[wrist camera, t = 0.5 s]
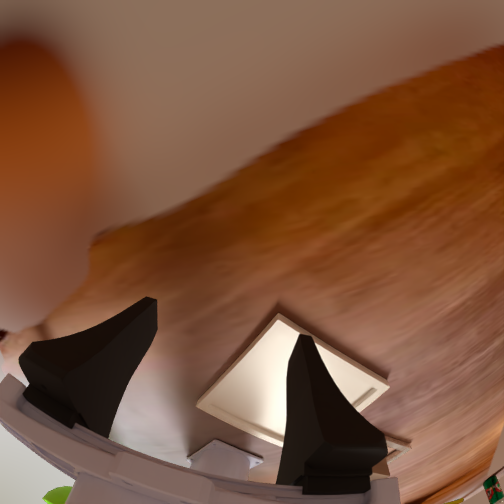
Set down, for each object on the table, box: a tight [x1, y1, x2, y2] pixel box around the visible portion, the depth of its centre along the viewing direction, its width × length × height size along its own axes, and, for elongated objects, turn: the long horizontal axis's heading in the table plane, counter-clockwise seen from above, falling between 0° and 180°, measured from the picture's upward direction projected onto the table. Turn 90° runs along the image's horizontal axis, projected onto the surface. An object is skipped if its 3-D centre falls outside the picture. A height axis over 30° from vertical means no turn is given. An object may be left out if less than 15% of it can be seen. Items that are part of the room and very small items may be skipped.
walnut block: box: [370, 457, 390, 481], centre depth 28 cm, size 4×4×5 cm
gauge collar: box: [385, 435, 412, 464], centre depth 29 cm, size 10×10×1 cm
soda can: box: [483, 475, 504, 504], centre depth 30 cm, size 5×5×12 cm
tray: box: [196, 313, 390, 447], centre depth 26 cm, size 15×15×1 cm
